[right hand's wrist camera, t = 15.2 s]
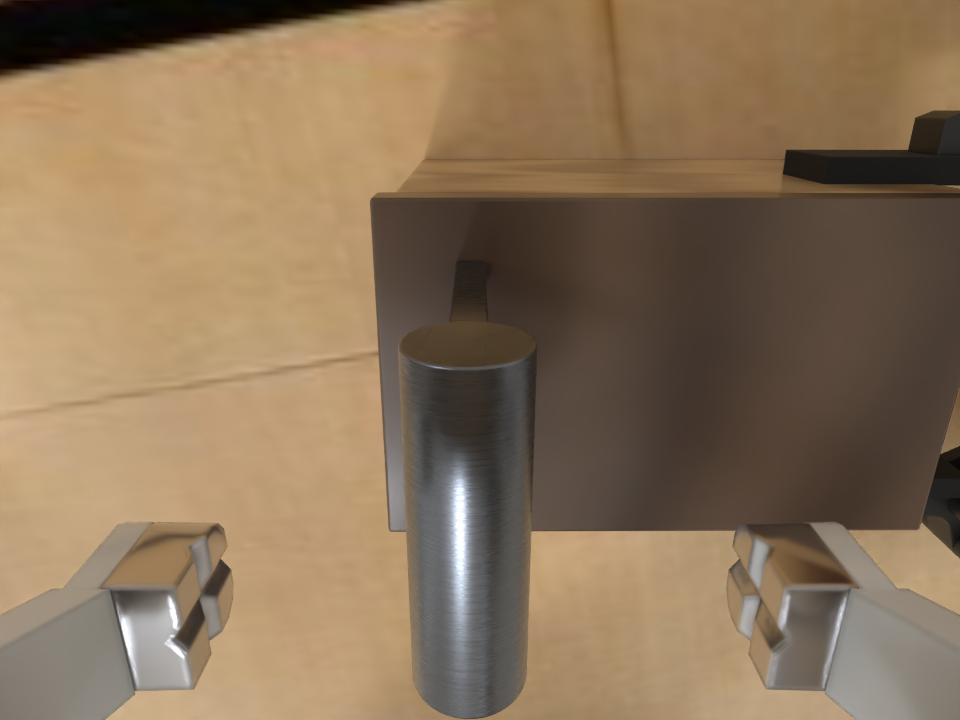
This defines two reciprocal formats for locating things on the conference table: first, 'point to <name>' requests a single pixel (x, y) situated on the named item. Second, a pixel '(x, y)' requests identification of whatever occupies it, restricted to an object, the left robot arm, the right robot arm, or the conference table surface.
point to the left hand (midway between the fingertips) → (776, 330)
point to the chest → (628, 178)
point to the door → (645, 384)
